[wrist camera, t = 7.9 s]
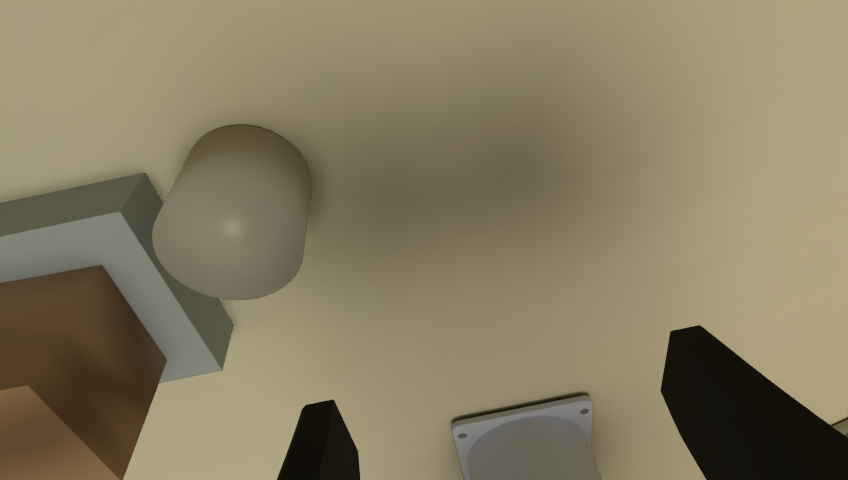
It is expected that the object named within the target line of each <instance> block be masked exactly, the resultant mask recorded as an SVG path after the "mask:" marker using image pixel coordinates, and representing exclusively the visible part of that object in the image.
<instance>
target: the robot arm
mask: <svg viewBox="0 0 848 480" xmlns="http://www.w3.org/2000/svg"><path fill="white" fill-rule="evenodd" d="M661 393H662V395H663V397H664V400H665V402H666V404H667V407H668V409H669V411H670V413H671V416H672V418H673V420H674V422H675V424H676V426H677V429H678V431H679V433H680V435H681V437H682V439H683V441H684V442H685V444H686V446H687V448H688V449H689V451H690V453H691V454H692V456H693V458H694V459H695V461H696V463H697V464H698V466H699V468H700V470H701V471H702V473H703V475H704V476H705V478H706V480H848V437H846V436H845V435H844V434H842V433H841V432H839V431H838V430H836V429H835V428H833V427H832V426H831V425H829V424H828V423H826V422H825V421H824V420H822V419H821V418H819V417H818V416H817V415H815V414H814V413H813V412H811V411H810V410H809V409H807V408H806V407H804V406H803V405H802V404H800V403H799V402H798V401H796V400H795V399H794V398H792V397H791V396H790V395H788V394H787V393H786V392H784V391H783V390H782V389H780V388H779V387H778V386H776V385H775V384H774V383H772V382H771V381H770V380H769V379H767V378H766V377H765V376H763V375H762V374H761V373H760V372H758V371H757V370H756V369H754V368H753V367H752V366H751V365H749V364H748V363H747V362H746V361H744V360H743V359H742V358H741V357H739V356H738V355H737V354H735V353H734V352H733V351H732V350H730V349H729V348H728V347H727V346H726V345H724V344H723V343H722V342H721V341H719V340H718V339H717V338H716V337H714V336H713V335H712V334H711V333H709V332H708V331H707V330H706V329H704V328H703V327H701V326H700V325H699V326H694V327H689V328H684V329H679V330H674V331H671V332H670V338H669V344H668V350H667V356H666V362H665V368H664V374H663V380H662V386H661ZM592 414H593V403H592V400H591V398H590V397H589V396H585V395H584V396H578V397H573V398H568V399H563V400H558V401H553V402H548V403H543V404H538V405H533V406H528V407H523V408H518V409H513V410H508V411H503V412H498V413H493V414H488V415H483V416H478V417H473V418H468V419H463V420H459V421H456V422H454V423H453V424H452V432H453V436H454V440H455V444H456V448H457V452H458V456H459V460H460V464H461V468H462V472H463V476H464V480H602V477H601V475H600V472H599V470H598V467H597V465H596V462H595V460H594V457H593V455H592V452H591V439H592ZM277 480H360V471H359V458H358V450H357V448H356V446H355V444H354V442H353V440H352V438H351V435H350V433H349V431H348V429H347V427H346V425H345V423H344V421H343V418H342V416H341V414H340V412H339V410H338V408H337V406H336V403H335V401H334V399H333V400H329V401H324V402H319V403H314V404H309V405H305V407H304V408H303V409H302V411H301V414H300V417H299V420H298V424H297V426H296V429H295V432H294V435H293V438H292V441H291V444H290V446H289V449H288V452H287V455H286V457H285V460H284V462H283V465H282V468H281V470H280V473H279V476H278V478H277Z"/></svg>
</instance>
